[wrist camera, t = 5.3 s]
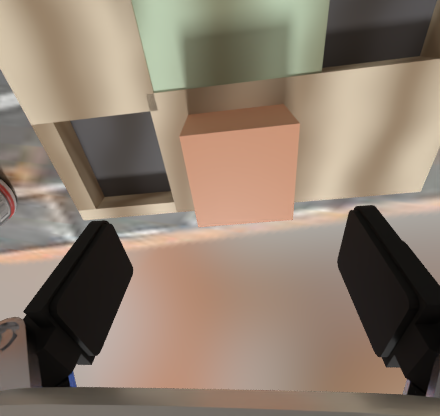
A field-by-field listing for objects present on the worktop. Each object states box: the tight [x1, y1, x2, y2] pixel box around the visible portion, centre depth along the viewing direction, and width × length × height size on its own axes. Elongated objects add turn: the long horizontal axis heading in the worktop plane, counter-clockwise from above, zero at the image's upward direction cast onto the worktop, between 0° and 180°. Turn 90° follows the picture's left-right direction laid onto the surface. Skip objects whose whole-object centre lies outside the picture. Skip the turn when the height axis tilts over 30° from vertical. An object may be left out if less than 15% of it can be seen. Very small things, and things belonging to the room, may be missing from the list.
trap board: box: [0, 0, 440, 220], centre depth 16 cm, size 27×17×2 cm, turn 96°
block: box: [179, 104, 300, 227], centre depth 16 cm, size 6×6×4 cm
